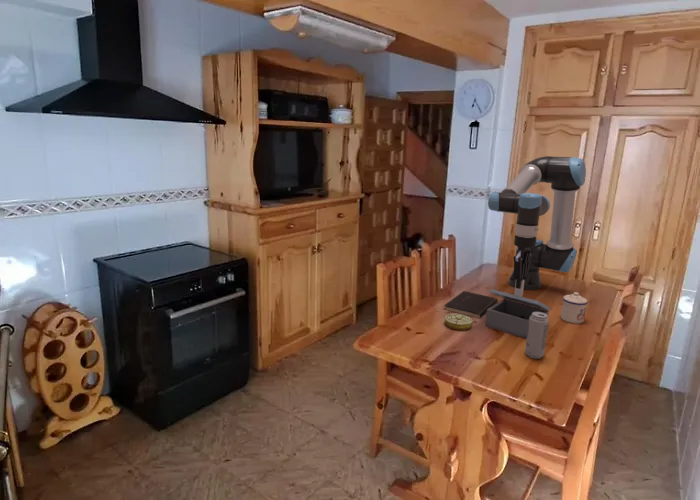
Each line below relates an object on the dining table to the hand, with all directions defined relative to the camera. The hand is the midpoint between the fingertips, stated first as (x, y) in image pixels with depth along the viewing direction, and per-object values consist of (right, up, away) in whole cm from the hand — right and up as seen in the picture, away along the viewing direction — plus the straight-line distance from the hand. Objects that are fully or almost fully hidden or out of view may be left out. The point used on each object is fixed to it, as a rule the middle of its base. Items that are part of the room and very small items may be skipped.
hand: (518, 295), depth 173 cm
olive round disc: (-22, -12, +5) cm, 26 cm away
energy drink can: (-1, -19, -18) cm, 26 cm away
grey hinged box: (+1, -13, +5) cm, 14 cm away
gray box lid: (+2, -3, +3) cm, 4 cm away
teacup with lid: (+28, -11, +14) cm, 33 cm away
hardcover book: (-11, -8, +26) cm, 29 cm away
